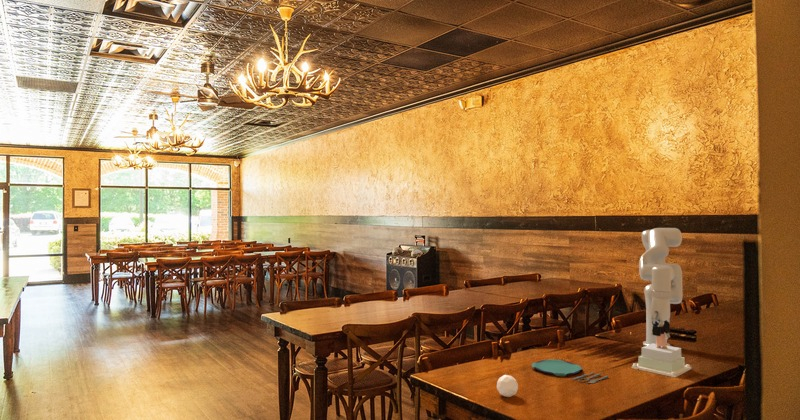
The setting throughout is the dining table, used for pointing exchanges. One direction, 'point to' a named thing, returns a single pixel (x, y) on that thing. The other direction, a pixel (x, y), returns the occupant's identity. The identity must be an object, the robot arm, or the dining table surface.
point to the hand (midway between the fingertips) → (661, 333)
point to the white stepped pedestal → (662, 361)
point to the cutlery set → (563, 369)
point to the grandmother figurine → (661, 337)
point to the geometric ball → (507, 386)
